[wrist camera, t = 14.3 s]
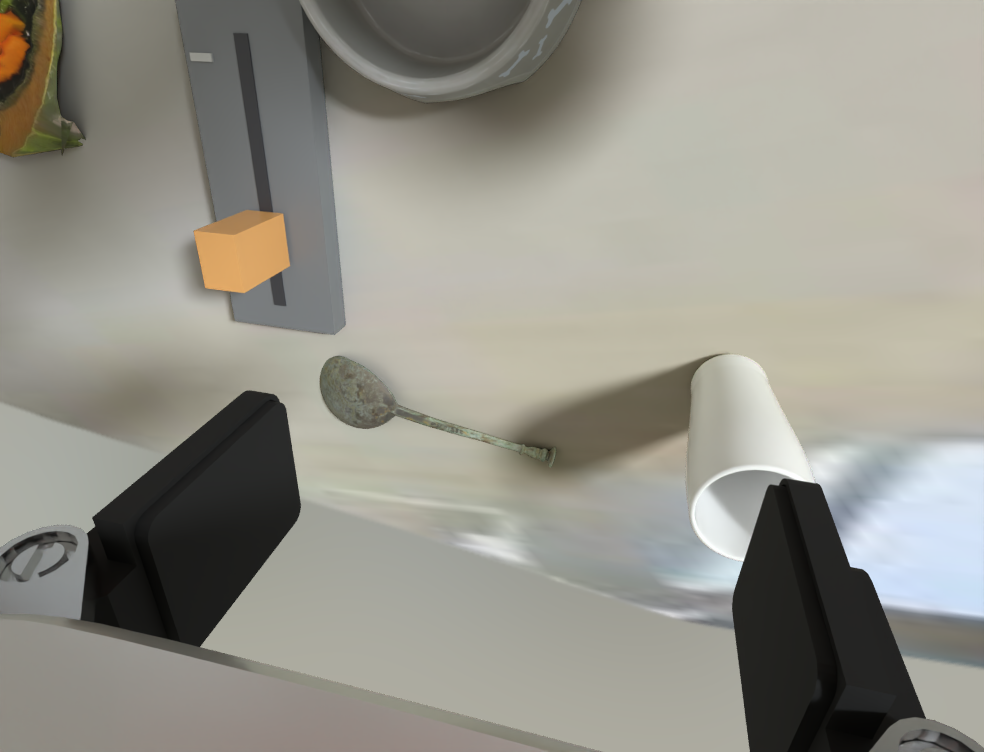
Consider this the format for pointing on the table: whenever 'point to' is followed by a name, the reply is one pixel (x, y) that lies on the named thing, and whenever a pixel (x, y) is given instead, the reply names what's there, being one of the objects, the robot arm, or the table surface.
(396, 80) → the dog bowl
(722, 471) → the drinking glass
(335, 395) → the soupspoon
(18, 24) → the prepared meal
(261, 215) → the fader knob
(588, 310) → the table surface
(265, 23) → the fader console
